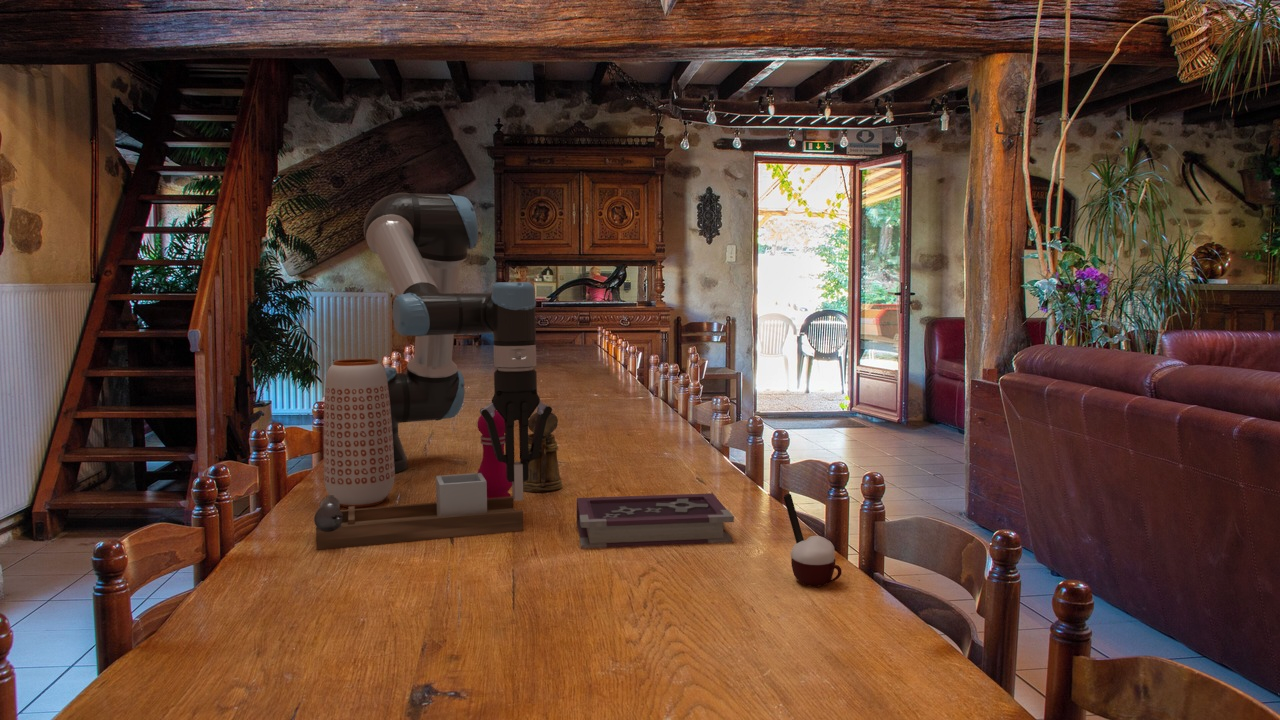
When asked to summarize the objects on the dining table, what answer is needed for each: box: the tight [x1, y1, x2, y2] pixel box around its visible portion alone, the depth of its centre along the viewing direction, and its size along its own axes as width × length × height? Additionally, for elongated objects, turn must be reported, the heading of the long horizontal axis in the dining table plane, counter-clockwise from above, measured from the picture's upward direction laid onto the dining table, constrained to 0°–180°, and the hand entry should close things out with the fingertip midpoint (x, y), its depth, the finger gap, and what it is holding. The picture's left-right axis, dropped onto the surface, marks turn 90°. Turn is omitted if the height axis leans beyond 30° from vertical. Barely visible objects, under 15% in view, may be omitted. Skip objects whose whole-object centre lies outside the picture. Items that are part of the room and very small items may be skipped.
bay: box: [315, 496, 524, 551], centre depth 152 cm, size 11×34×4 cm, turn 108°
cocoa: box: [783, 493, 843, 588], centre depth 125 cm, size 10×6×12 cm, turn 22°
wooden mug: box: [523, 412, 563, 493], centre depth 180 cm, size 9×14×18 cm, turn 11°
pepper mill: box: [477, 403, 512, 498], centre depth 169 cm, size 7×7×20 cm
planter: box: [323, 358, 396, 509], centre depth 171 cm, size 13×13×28 cm
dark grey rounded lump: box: [313, 494, 343, 532], centre depth 145 cm, size 12×4×6 cm, turn 18°
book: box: [576, 492, 735, 550], centre depth 151 cm, size 25×16×5 cm, turn 97°
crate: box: [435, 472, 487, 517], centre depth 154 cm, size 7×8×7 cm
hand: (517, 498), depth 157 cm, fingers closed
